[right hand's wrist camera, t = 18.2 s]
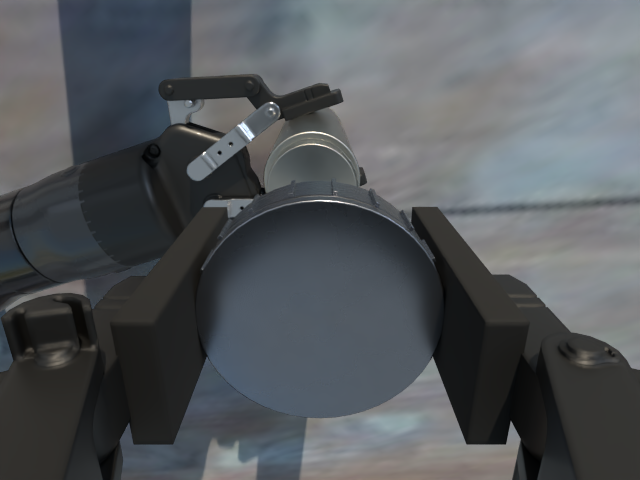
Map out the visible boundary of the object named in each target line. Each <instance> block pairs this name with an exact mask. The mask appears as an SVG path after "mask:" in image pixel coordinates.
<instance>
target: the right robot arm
mask: <svg viewBox="0 0 640 480" xmlns="http://www.w3.org/2000/svg"><path fill="white" fill-rule="evenodd" d="M227 220H228V210H227V207H202V208H201V209H200V211H199V212H198V213H197V214H196V216H195V217H194V218H193V219H192V221H191V222H190V223H189V224H188V226H187V227H186V228H185V229H184V231H183V232H182V233H181V234H180V235H179V237H178V238H177V239H176V240H175V242H174V243H173V244H172V245H171V247H170V248H169V249H168V250H167V252H166V253H165V254H164V255H163V257H162V258H161V259H160V260H159V262H158V263H157V264H156V265H155V266H154V268H153V269H152V270H151V271H150V273H149V274H148V275H147V276H130V277H129V278H127V279H125V280H123V281H121V282H120V283H118V284H116V285H114V286H113V287H112V288H111V289H110V290H109V291H108V293H107V294H106V295H105V296H104V297H103V299H101V300H100V301H99V302H98V303H97V305H96V306H95V309H91V304H90V300H89V299H88V298H86V297H85V296H83V295H79V294H73V293H62V294H52V295H47V296H42V297H38V298H35V299H32V300H29V301H26V302H23V303H21V304H20V305H18V306H16V307H14V308H12V309H10V310H9V311H8V312H7V313H6V314H5V315H4V316H2V317H1V320H2V324H3V327H4V330H5V334H6V337H7V340H8V344H9V347H10V350H11V354H12V357H13V360H14V361H13V363H12V364H11V366H10V368H9V370H8V371H4V372H0V480H121V472H122V465H123V456H122V450H121V445H120V441H119V440H120V438H121V436H122V434H123V433H124V431H125V429H126V427H127V425H128V423H130V428H131V433H132V438H133V443H134V444H173V443H174V441H175V438H176V435H177V433H178V430H179V428H180V425H181V422H182V420H183V417H184V415H185V412H186V409H187V407H188V404H189V402H190V399H191V396H192V394H193V391H194V388H195V386H196V383H197V381H198V378H199V375H200V373H201V370H202V368H203V365H204V362H205V360H206V357H207V355H206V353H205V351H204V349H203V347H202V344H201V341H200V338H199V335H198V331H197V323H196V314H195V297H196V290H197V286H198V282H199V278H200V276H201V273H200V269H201V267H202V266H203V264H204V262H205V260H206V259H207V257H208V255H209V253H210V252H211V250H212V249H213V250H214V248H215V246H216V244H217V243H218V241H219V239H217V237H218V236H219V234H220V232H221V231H222V229H223V227H224V225H225V224H226V222H227ZM411 223H412V225H413V227H414V230H415V231H416V233H417V234H418V236H419V238H420V239H421V240H423V239H424V240H425V242H426V244H427V245H428V247H429V249H430V251H431V252H432V254H433V256H434V257H435V259H436V262H434V265H435V267H436V269H437V271H438V274H439V276H440V279H441V283H442V287H443V290H444V299H445V311H444V321H443V329H442V335H441V338H440V340H439V343H438V346H437V348H436V350H435V352H434V354H433V358H434V360H435V363H436V366H437V368H438V371H439V374H440V376H441V379H442V381H443V384H444V387H445V389H446V392H447V394H448V397H449V400H450V402H451V405H452V407H453V410H454V413H455V415H456V418H457V421H458V423H459V426H460V428H461V431H462V434H463V436H464V439H465V441H466V444H506V442H507V437H508V432H509V426H510V421H512V423H513V425H514V427H515V429H516V431H517V433H518V434H519V436H520V438H521V441H520V445H519V450H518V455H517V459H516V464H515V469H514V474H513V478H512V480H640V370H637V369H632V368H631V367H630V365H629V364H628V362H627V360H626V359H625V358H624V357H623V355H622V354H621V353H620V352H619V351H618V350H616V349H615V348H613V347H612V346H610V345H609V344H607V343H605V342H603V341H600V340H598V339H595V338H593V337H590V336H586V335H582V334H577V333H571V332H570V331H569V330H568V329H567V328H566V327H565V325H564V324H563V323H562V322H561V321H560V320H559V319H558V318H557V317H556V316H555V315H554V314H553V313H552V311H551V310H550V309H549V308H548V307H545V304H544V303H543V302H542V301H541V300H540V299H539V298H537V295H536V294H535V293H534V292H533V291H532V290H531V289H530V288H529V287H528V286H527V284H525V283H523V282H521V281H519V280H518V279H516V278H514V277H512V276H510V275H492V274H491V273H490V272H489V271H488V269H487V268H486V267H485V266H484V264H483V263H482V262H481V261H480V259H479V258H478V257H477V256H476V254H475V253H474V252H473V251H472V250H471V248H470V247H469V246H468V245H467V243H466V242H465V241H464V240H463V238H462V237H461V236H460V235H459V233H458V232H457V231H456V230H455V228H454V227H453V226H452V225H451V223H450V222H449V221H448V220H447V219H446V217H445V216H444V215H443V214H442V212H441V211H440V210H439V209H438V207H412V219H411Z"/></svg>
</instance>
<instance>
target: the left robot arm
mask: <svg viewBox="0 0 640 480" xmlns="http://www.w3.org/2000/svg"><path fill="white" fill-rule="evenodd" d="M159 93H160V95H161V97H162V98H163V99H165V100H167V103H168V109H169V115H170V121H171V126H169V127H168V128H167V129H166V130H165V131H164V133H163V134H162V135H161V136H160V137H158V138H156V139H153V140H150V141H147V142H144V143H141V144H138V145H136V146H133V147H130V148H127V149H124V150H121V151H118V152H115V153H112V154H109V155H106V156H103V157H100V158H97V159H95V160H92V161H89V162H86V163H83V164H80V165H75V166H72V167H69V168H67V169H65V170H62V171H60V172H57V173H55V174H52V175H50V176H48V177H46V178H44V179H42V180H40V181H39V182H37V183H35V184H33V185H30V186H27V187H24V188H21V189H18V190H16V191H13V192H10V193H7V194H4V195H1V196H0V312H1V311H2V310H4V309H5V308H7V307H8V306H9V305H11V304H12V303H13V302H15V301H16V300H18V299H19V298H21V297H23V296H26V295H29V294H33V293H36V292H40V291H43V290H46V289H49V288H53V287H56V286H59V285H62V284H65V283H69V282H72V281H76V280H82V279H89V278H94V277H99V276H103V275H106V274H110V273H113V272H116V273H118V272H122V271H125V270H127V269H130V268H131V267H132V266H136V265H139V264H142V263H145V262H148V261H151V260H155V259H158V258H161V257H163V255H164V254H165V253H166V252H167V250H168V249H169V248H170V247H171V245H172V244H173V243H174V242H175V240H176V239H177V238H178V237H179V235H180V234H181V233H182V232H183V231H184V229H185V228H186V227H187V226H188V224H189V223H190V222H191V221H192V219H193V218H194V217H195V216H196V214H197V213H198V212H199V211H200V209H201V208H202V207H227V210H228V219H229V218H230V219H231V220H233V219H234V218H235V216H236V215H237V214H238V213H239V212H240V211H242V210H243V209H244V208H245V207H246V206H247V205H248V204H250V203H251V202H252V201H253V199H254V197H255V196H256V195H257V194H259V196H262V195H264V194H266V192H265V187H264V186H263V185H261V184H260V182H259V179H258V177H257V175H256V174H255V173H254V171H253V170H252V168H251V166H250V156H249V153H248V150H247V148H246V145H247V144H248V143H249V142H251V141H252V140H253V139H254V138H255V137H256V136H258V135H259V134H260V133H262V132H263V131H264V130H265V129H267V128H268V127H269V126H270V125H272V124H273V123H274V122H276V121H277V120H280V119H283V118H285V121H288V120H291V119H294V118H297V117H299V116H303V115H306V114H309V113H312V112H315V111H318V110H321V109H324V108H327V107H330V106H333V105H336V104H339V103H341V102H343V98H342V94H341V91H340V89H335V90H332V91H330V89H329V86H328V84H324V83H318V84H315V85H312V86H309V87H306V88H303V89H301V90H298V91H295V92H292V93H289V94H286V95H282V96H278V95H275V94H273V93H272V92H271V91H270V90H269V88H268V87H267V86H266V85H265V83H264V82H263V79H262V78H261V77H260V76H259V75H256V74H247V75H228V76H209V77H190V78H175V79H168V80H164V81H162V82H161V83H160V85H159ZM239 97H247V98H248V99H249V100H250V102H251V103H252V104H253V105H254V107H255V108H256V109H257V110H256V111H254V112H253V113H252V114H251V115H249V116H248V117H247V118H246V119H244V120H243V121H242V122H241V123H239V124H238V125H237V126H236V127H234V128H233V129H232V130H231V131H229V132H228V133H227V134H225V133H222V132H219V131H216V130H212V129H209V128H206V127H203V126H200V125H197V124H194V123H191V122H189V117H190V115H191V114H192V113H194V112H197V111H199V110H201V109H202V108H203V106H204V99H219V98H239ZM359 170H360V186H362V185H364V184H366V183H367V180H366V176H365V173H364V170H363V168H362V167H359ZM260 194H262V195H260Z"/></svg>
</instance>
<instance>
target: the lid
mask: <svg viewBox="0 0 640 480" xmlns="http://www.w3.org/2000/svg"><path fill="white" fill-rule="evenodd" d="M217 239H219V241H218V243H217V244H216V246H215V248H214V250H213V249H212V250H211V252H210V253H209V255H208V257H207V259H206V260H205V262H204V264H203V266H202V267H201V269H200V273H201V276H200V278H199V282H198V286H197V290H196V297H195V314H196V323H197V331H198V335H199V338H200V341H201V344H202V347H203V349H204V351H205V353H206V355H207V357H208V359H209V361H210V362H211V363H212V365H213V366H214V368H215V369H216V370H217V372H218V373H219V374H220V375H221V376H222V377H223V378H224V379H225V381H226V382H227V383H228V384H230V385H231V386H232V387H233V388H234V389H236V390H237V391H238V392H239V393H241V394H242V395H244V396H245V397H247V398H248V399H250V400H252V401H254V402H256V403H258V404H260V405H262V406H264V407H266V408H269V409H272V410H274V411H277V412H281V413H285V414H288V415H293V416H300V417H308V418H332V417H340V416H346V415H351V414H355V413H359V412H363V411H366V410H368V409H371V408H373V407H376V406H378V405H380V404H382V403H384V402H386V401H388V400H390V399H391V398H393V397H394V396H396V395H397V394H399V393H400V392H402V391H403V390H404V389H405V388H407V387H408V386H409V385H410V384H411V383H412V382H413V381H414V380H415V379H416V378H417V377H418V376H419V375H420V374H421V373H422V372H423V370H424V369H425V367H426V366H427V364H428V363H429V362H430V360H431V358H432V356H433V354H434V352H435V350H436V348H437V346H438V343H439V340H440V338H441V335H442V329H443V321H444V311H445V299H444V290H443V287H442V283H441V279H440V276H439V274H438V271H437V269H436V267H435V265H434V262H436V259H435V257H434V256H433V254H432V252H431V251H430V249H429V247H428V245H427V244H426V242H425V240H424V239H423V240H421V239H420V238H419V236H418V234H417V233H416V231H415V230H414V227H413V225H412V223H411V222H410V220H409V218H408V216H407V215H406V213H405V212H404V211H403V210H402V211H401V212H399V211H398V210H397V209H396V208H395V207H394V206H393V205H391V204H390V203H389V202H387V201H386V200H384V199H383V198H381V197H379V196H378V195H376V193H375V190H373V189H370V190H369V191H367V190H365V189H362V188H359V187H356V186H353V185H350V184H345V183H340V182H337V181H336V178H332V180H331V181H307V182H300V183H296V180H293V181H291V184H290V185H286V186H283V187H280V188H277V189H274V190H272V191H270V192H268V193H266V194H264V195H262V196H259V194H257V195H256V196H255V197H254V199H253V201H252V202H251V203H250V204H248V205H247V206H246V207H245V208H244V209H243V210H242V211H240V212H239V213H238V214H237V215H236V216H235V218H234V219H233V220H231V219H230V218H229V219H228V220H227V222H226V224H225V225H224V227H223V229H222V231H221V232H220V234H219V236H218V237H217Z"/></svg>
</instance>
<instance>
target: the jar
mask: <svg viewBox="0 0 640 480" xmlns="http://www.w3.org/2000/svg"><path fill="white" fill-rule="evenodd" d="M332 178H336V181H337V182H340V183H345V184H350V185H353V186H356V187H360V170H359V166H358V163H357V160H356V158H355V156H354V153H353V151H352V148H351V146H350V144H349V141H348V139H347V136H346V134H345V132H344V129H343V127H342V124H341V122H340V120H339V118H338V116H337V115H336V114H335V113H334V112H333V111H332V110H331V109H330V108H328V107H327V108H324V109H321V110H318V111H315V112H312V113H309V114H306V115H303V116H299V117H297V118H294V119H291V120H288V121H285V123H284V126H283V128H282V130H281V132H280V134H279V136H278V138H277V141H276V143H275V145H274V147H273V149H272V151H271V153H270V155H269V158H268V160H267V162H266V165H265V170H264V187H265V192H266V193H268V192H270V191H272V190H274V189H277V188H280V187H283V186H286V185H290V184H291V181H293V180H296V183H300V182H307V181H331V180H332Z"/></svg>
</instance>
